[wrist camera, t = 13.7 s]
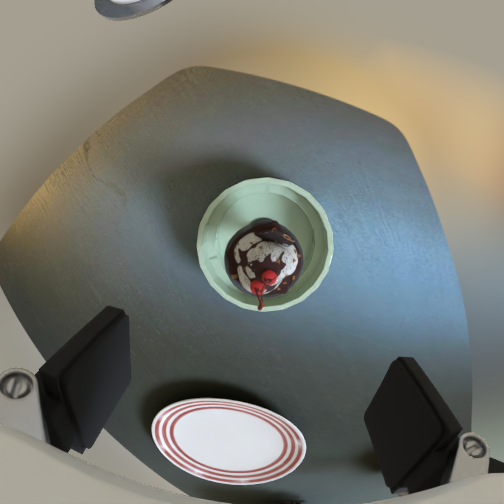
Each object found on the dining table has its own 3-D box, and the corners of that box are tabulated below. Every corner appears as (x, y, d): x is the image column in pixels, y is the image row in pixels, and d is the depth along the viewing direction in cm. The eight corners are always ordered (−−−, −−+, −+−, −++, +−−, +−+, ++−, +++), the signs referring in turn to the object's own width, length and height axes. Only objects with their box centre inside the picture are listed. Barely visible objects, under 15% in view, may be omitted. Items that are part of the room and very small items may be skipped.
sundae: (253, 275, 35) (245, 339, 20) (226, 227, 33) (196, 260, 19) (302, 250, 34) (328, 300, 19) (276, 200, 32) (284, 213, 18)
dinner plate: (163, 461, 46) (159, 472, 43) (147, 373, 40) (140, 385, 37) (289, 477, 46) (289, 489, 42) (320, 393, 39) (323, 407, 36)
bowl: (217, 169, 32) (209, 166, 27) (334, 193, 32) (346, 194, 27) (199, 282, 36) (189, 297, 31) (308, 303, 36) (314, 320, 31)
